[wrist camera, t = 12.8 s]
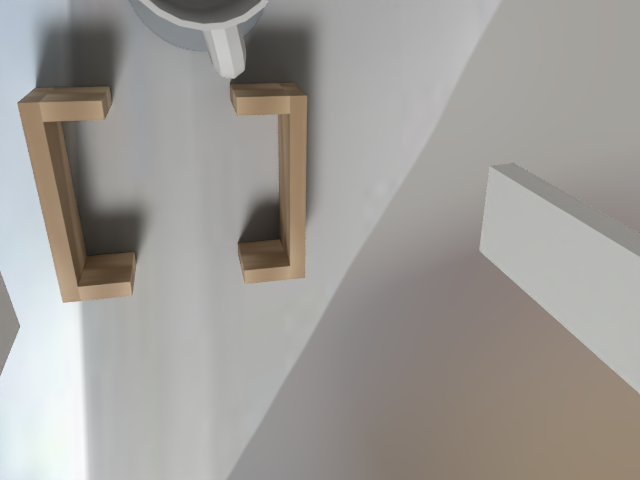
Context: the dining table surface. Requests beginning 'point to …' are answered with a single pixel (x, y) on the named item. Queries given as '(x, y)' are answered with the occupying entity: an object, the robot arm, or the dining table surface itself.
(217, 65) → the cup
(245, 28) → the coaster
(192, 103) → the dining table surface
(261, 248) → the wooden brackets
